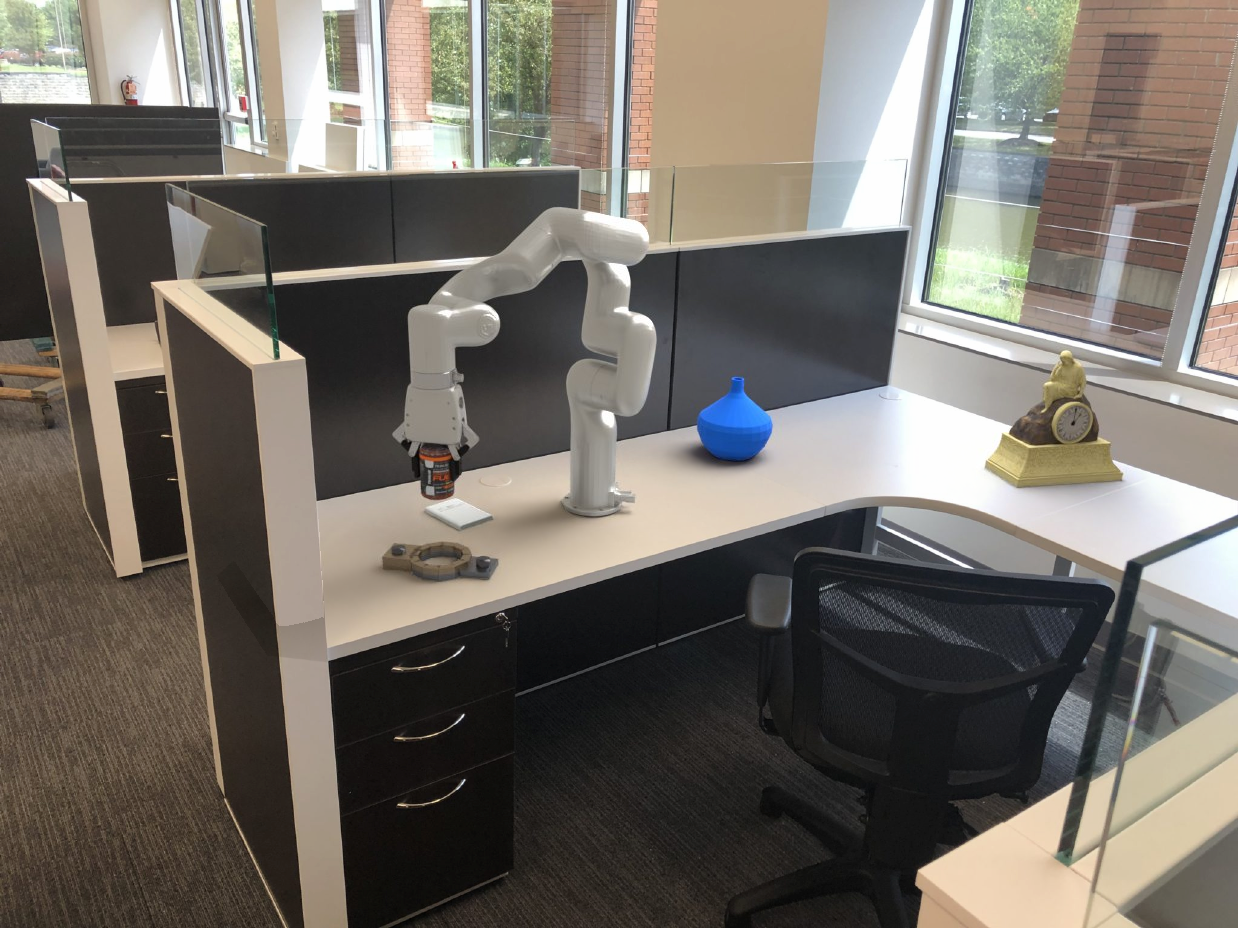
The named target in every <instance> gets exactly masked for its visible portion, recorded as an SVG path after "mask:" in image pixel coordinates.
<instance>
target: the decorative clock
mask: <svg viewBox="0 0 1238 928" xmlns="http://www.w3.org/2000/svg"><path fill="white" fill-rule="evenodd" d="M1050 373H1051V374H1050V376H1049V381H1047V382H1045V383H1043V385H1042V390H1043V391H1042V401H1040V402H1039V403H1037V404H1036V405H1034V406H1033V407H1031V408H1030V409H1029V411H1028V412H1027V414H1025V415H1024V416H1021V417H1019V418H1018V419H1017V420H1016V421H1015V423H1014V424H1012V425H1013V426H1011V428H1010V429H1009V431H1008V432H1001V439H1000V441H999V444H998V446H997V448H996V449H995V451H994V452H993V453H992V454H991V455H990V456H989V457H988V458H987V459H986V460H985V464H984V468H985V469H986V470H988V471H989V472H991V473H993V474H994V475H996V476H998V477H999V478H1001V479H1002V480H1004V481H1006V482H1007V483H1009V484H1010V485H1011V486H1014V487H1015V488H1024V487H1039V486H1040V487H1041V486H1054V485H1056V486H1057V485H1070V484H1071V485H1072V484H1086V483H1088V484H1089V483H1100V482H1101V483H1103V482H1118V481H1122V480H1123V476H1124V472H1123V471H1121V469H1120V468H1119V467H1118V466H1117V465H1116V464H1115V463H1114V461H1113V459H1112V456H1111V446H1112V443H1111V442H1110V441H1107V440H1106V439H1103V438H1102V437H1099V431H1100V424H1099V422H1098V418H1097V415H1096V413H1095V411H1093V409H1092V408H1093V407H1092V405H1091V402H1090V401H1089V399H1088V398H1087V396H1086V395H1085V394H1084V392H1085V389H1086V387H1087V386H1086V385H1087V376H1086V372H1085V369H1084V367H1083V365H1082V364H1081V363H1080V362H1079V361H1078V360H1075V358H1074V357H1073V354H1072V352H1071V351H1069V350H1063V351H1062V352H1061V353H1060V355H1059V361H1058V362H1057V363H1056V364H1055V366H1054V367H1053V368H1052V371H1051V372H1050Z"/></svg>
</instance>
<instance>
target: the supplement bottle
mask: <svg viewBox="0 0 1238 928" xmlns="http://www.w3.org/2000/svg"><path fill="white" fill-rule="evenodd" d="M419 455H420V477H419V480H420V494H421V497H423V498H425V499H427V500H431V501H441V500H442V501H443V500H447V499H450V498H451V497H453V496H454V494H455V483H456V481H452V480H451V473H450V460H451V459H452V454H451V452H450V450H449V447H448V445H443V444H436V443H423V444H422V446H421V448H420V452H419Z"/></svg>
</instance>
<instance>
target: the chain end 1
mask: <svg viewBox="0 0 1238 928" xmlns="http://www.w3.org/2000/svg"><path fill="white" fill-rule="evenodd" d="M437 551H449V552H455V553H457V554H459V555H461V556H462V557H461V559H460V560H458V559H457V560H456V561H453V562H451V563H445V564H431V563H430V564H429V563H426V562H425V561H423V562H422V561H420V560H419V559H420V558H421V557H422V556H424V555H426V554H428V553H431V552H437ZM472 556H473V553H472V551H471V550H470V548H469V546H466V545H464V544H462V543H459V542H453V541H435V542H428V543H424V544H422V545H419V544H409V543H400V542H399V543H398V542H394V543H393V544H391V546H390V547H389V549H387V551H386V552H385V553H384V554H383V555H382V556H381V560H382V561H381V562H382V570H392V571H400V572H401V571H402V572H410V573H412V572H411V567H412V569H414V570H416V571H418V572H421V573H423V574H432V575H444V574H451V573H456V572H458V571H460V570H463V569H465V568H467V567H468V566H469V564H470V563H471V561H472Z"/></svg>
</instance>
